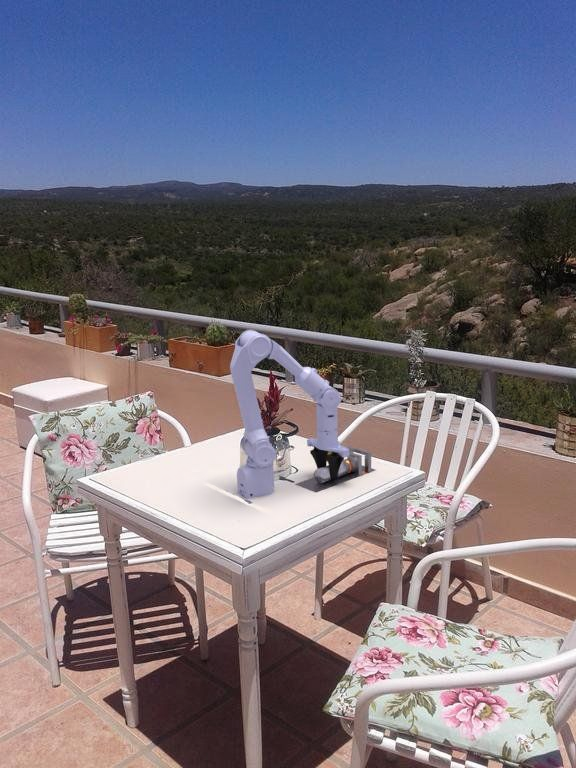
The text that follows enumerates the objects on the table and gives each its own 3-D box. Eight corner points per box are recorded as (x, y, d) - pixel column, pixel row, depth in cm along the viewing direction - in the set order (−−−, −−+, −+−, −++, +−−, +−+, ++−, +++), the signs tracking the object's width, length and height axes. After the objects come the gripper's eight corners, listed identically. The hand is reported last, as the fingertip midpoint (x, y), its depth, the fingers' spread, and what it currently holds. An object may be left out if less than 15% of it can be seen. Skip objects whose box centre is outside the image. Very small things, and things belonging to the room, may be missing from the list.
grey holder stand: (316, 496, 174) (315, 471, 172) (294, 488, 180) (293, 464, 179) (376, 473, 189) (376, 450, 187) (354, 466, 195) (354, 444, 194)
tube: (324, 485, 178) (324, 471, 178) (313, 481, 181) (313, 467, 180) (361, 471, 188) (361, 458, 187) (351, 467, 191) (351, 454, 190)
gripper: (356, 430, 176) (357, 478, 179) (319, 420, 187) (320, 466, 190) (338, 436, 172) (339, 485, 175) (301, 425, 182) (302, 472, 185)
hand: (328, 475), depth 182 cm, fingers closed on tube, 4 cm apart
